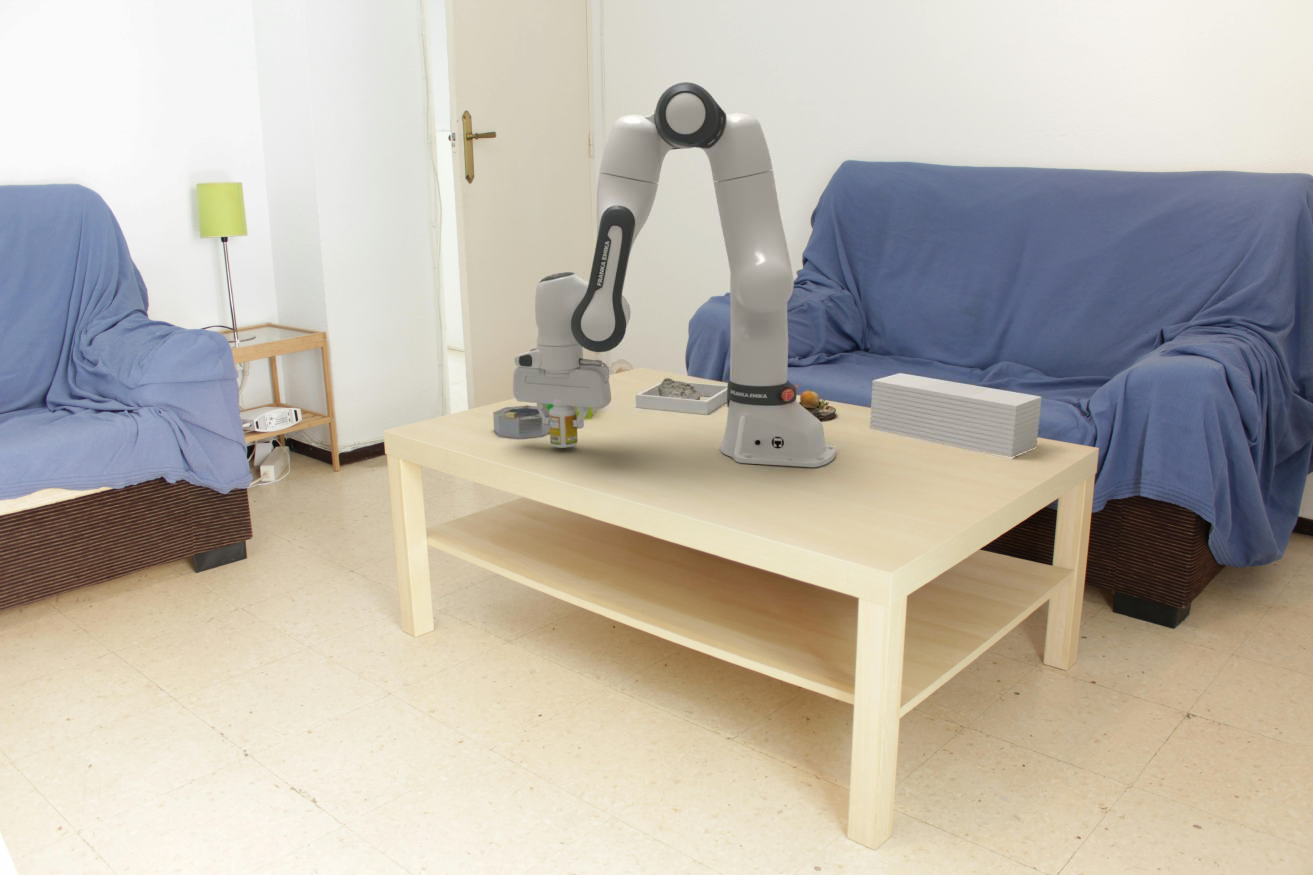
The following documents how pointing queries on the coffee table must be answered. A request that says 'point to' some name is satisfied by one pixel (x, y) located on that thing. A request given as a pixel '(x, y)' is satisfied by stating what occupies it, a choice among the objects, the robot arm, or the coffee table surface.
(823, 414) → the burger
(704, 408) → the grey sample tray
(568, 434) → the supplement bottle
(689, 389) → the rock sample
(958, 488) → the coffee table surface
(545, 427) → the ring
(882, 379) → the stack of papers
